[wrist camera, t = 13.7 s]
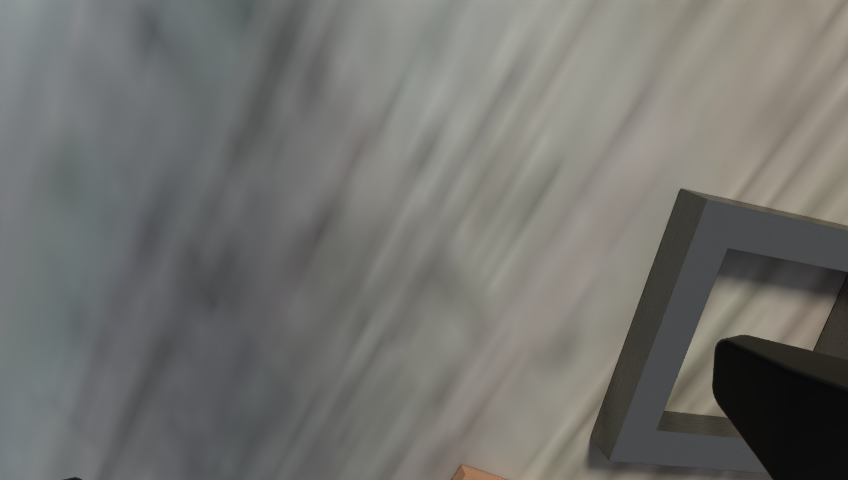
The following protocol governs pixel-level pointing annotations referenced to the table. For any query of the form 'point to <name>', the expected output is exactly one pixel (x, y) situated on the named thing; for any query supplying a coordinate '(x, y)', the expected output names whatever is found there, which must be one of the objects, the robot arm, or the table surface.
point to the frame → (677, 321)
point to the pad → (473, 474)
